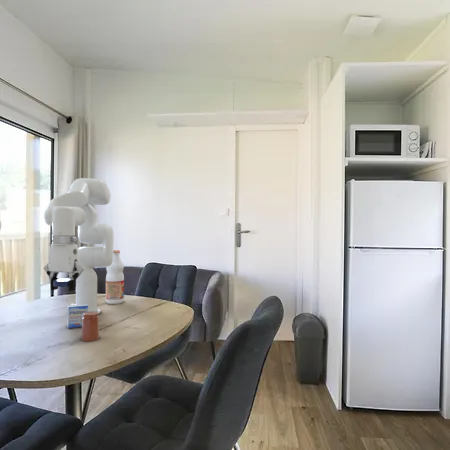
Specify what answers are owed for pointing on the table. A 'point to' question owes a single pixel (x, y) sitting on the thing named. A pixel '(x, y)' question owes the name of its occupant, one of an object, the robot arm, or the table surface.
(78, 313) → the medicine box
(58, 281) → the jam lid
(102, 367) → the table surface
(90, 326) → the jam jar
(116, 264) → the fruit juice
